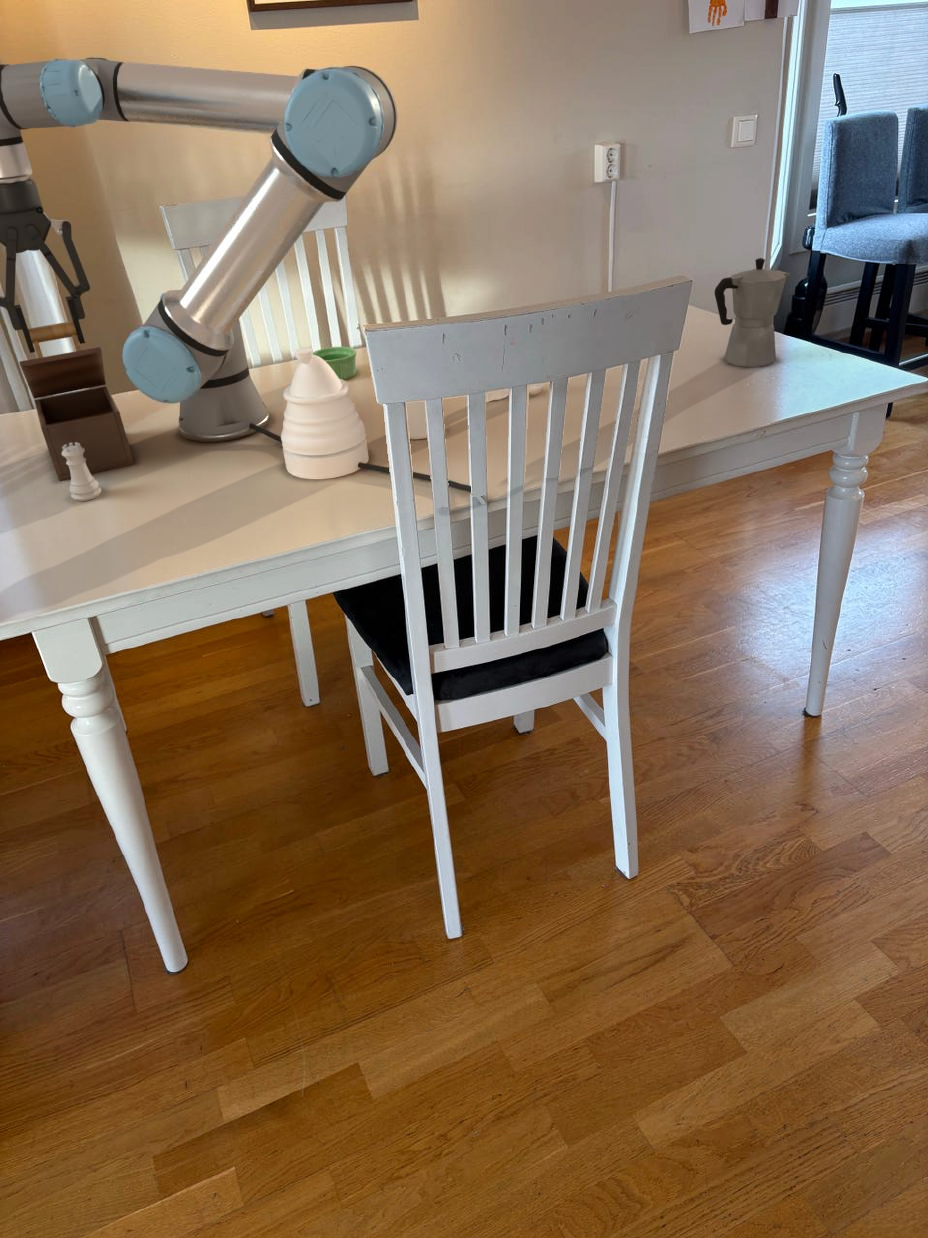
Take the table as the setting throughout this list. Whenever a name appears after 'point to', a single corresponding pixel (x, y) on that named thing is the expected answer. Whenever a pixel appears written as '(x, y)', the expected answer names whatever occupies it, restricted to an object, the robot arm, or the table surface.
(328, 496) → the table surface
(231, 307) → the robot arm
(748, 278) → the coffeepot
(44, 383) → the box lid
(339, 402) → the honey pot
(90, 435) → the box
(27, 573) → the table surface
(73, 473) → the rook chess piece
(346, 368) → the ramekin
